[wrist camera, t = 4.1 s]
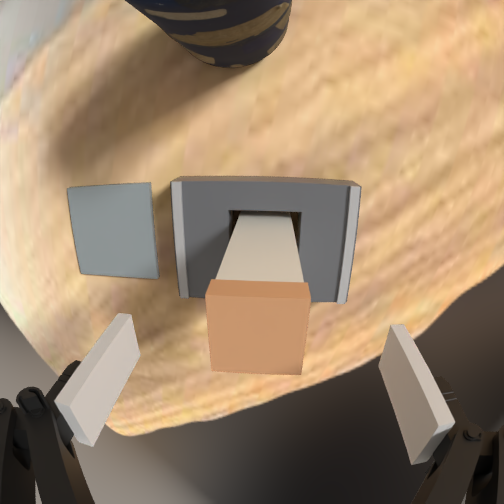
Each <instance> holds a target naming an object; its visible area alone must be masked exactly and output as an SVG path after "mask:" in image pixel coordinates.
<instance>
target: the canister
mask: <svg viewBox="0 0 504 504" xmlns="http://www.w3.org/2000/svg"><path fill="white" fill-rule="evenodd" d="M125 1H127V2H128V3H129V4H131V5H132V6H133V7H135V8H136V9H137V10H139V11H140V12H141V13H143V14H144V15H145V16H146V17H148V18H149V19H150V20H152V21H153V22H154V23H156V24H157V25H158V26H159V27H161V28H162V29H163V30H164V31H165V32H166V33H167V34H168V35H169V36H170V37H171V38H172V39H174V40H175V41H177V42H178V43H179V44H180V45H181V46H183V47H184V48H185V49H186V50H188V51H189V52H190V53H191V54H192V55H193V56H195V57H196V58H198V59H199V60H201V61H203V62H205V63H208V64H211V65H214V66H218V67H233V68H234V67H242V66H247V65H250V64H253V63H255V62H258V61H260V60H262V59H263V58H265V57H266V56H268V55H269V54H271V53H272V52H273V51H274V50H275V49H276V48H277V46H278V45H279V44H280V43H281V41H282V40H283V38H284V36H285V33H286V30H287V27H288V22H289V16H290V12H291V5H292V0H125Z"/></svg>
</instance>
